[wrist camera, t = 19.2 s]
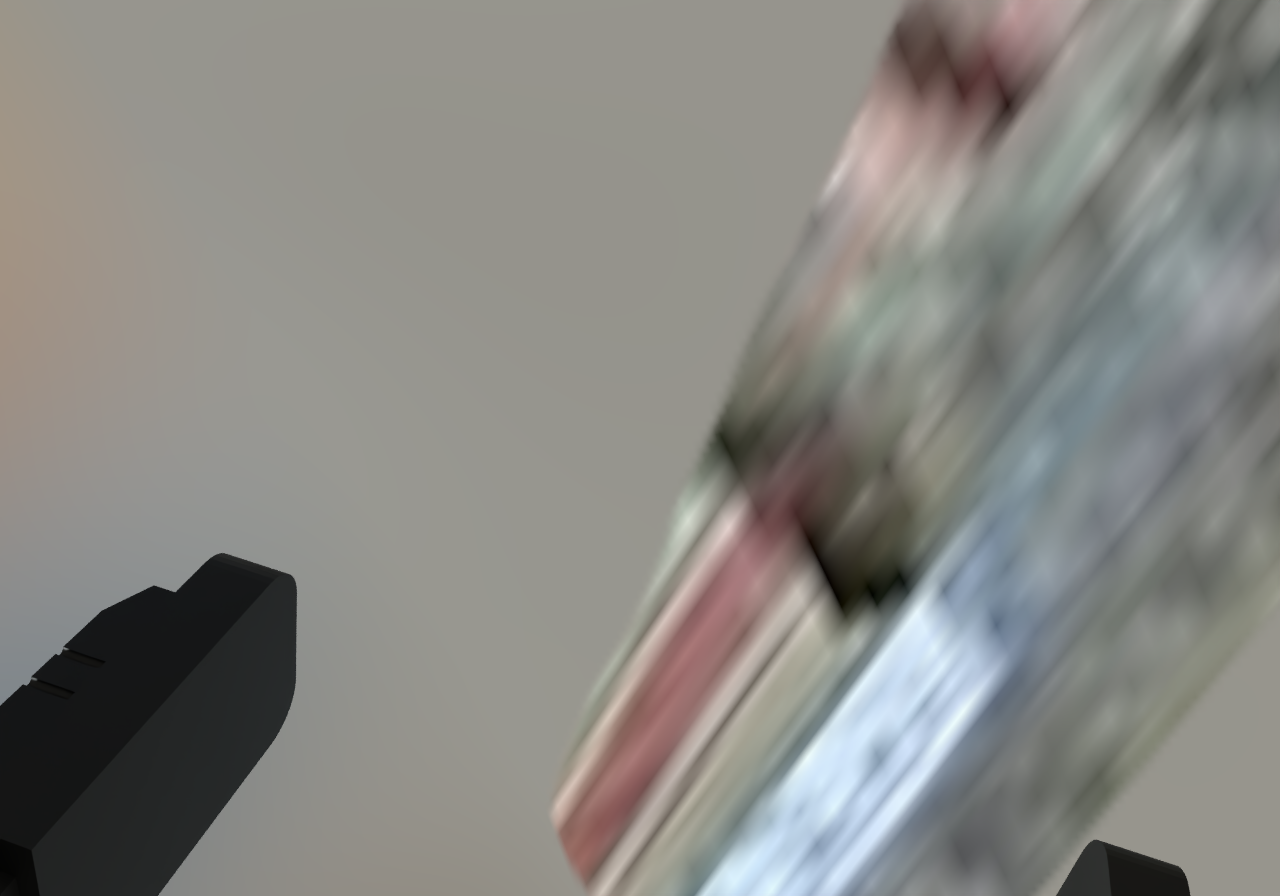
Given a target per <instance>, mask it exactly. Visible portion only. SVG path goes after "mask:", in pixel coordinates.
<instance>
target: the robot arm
mask: <svg viewBox="0 0 1280 896" xmlns="http://www.w3.org/2000/svg"><path fill="white" fill-rule="evenodd" d="M296 588H297V587H296V582H295V580H294V578H293V577H292V576H291V575H290V574H287V573H284V572H281V571H278V570H275V569H271V568H268V567H265V566H262V565H259V564H256V563H253V562H250V561H247V560H244V559H241V558H237V557H234V556H231V555H228V554H225V553H220V554H217V555H215V556H213V557H212V558H210V559H209V560H208V561H207V562H205V563H204V565H202V566H201V567H200V568H199V569H198V570H197V572H195V573H194V574H193V575H192V577H190V579H188V580H187V581H186V582H185V583H184V584H183V585H182V586H181V587H180V588H179V589H178V590H177V592H172V591H169V590H166V589H163V588H160V587H157V586H152V587H150V588H148V589H146V590H144V591H142V592H140V593H137V594H135V595H133V596H131V597H129V598H127V599H125V600H123V601H121V602H119V603H117V604H115V605H113V606H111V607H108V608H107V609H104V610H102V611H101V612H100V613H99V614H98V615H97V616H96V617H95V618H94V619H93V620H91V621H90V622H89V623H88V624H87V625H86V626H85V627H84V628H83V629H82V630H81V631H80V632H79V633H78V634H76V635H75V636H74V637H73V638H72V639H71V640H70V641H69V642H68V643H67V644H66V645H65V646H64V647H63V651H62V653H61V654H60V655H57V654H55V655H54V656H53V657H52V658H51V659H50V660H49V661H48V662H47V663H45V664H44V665H43V666H42V667H41V668H40V669H39V670H38V671H37V672H36V673H35V674H34V675H33V676H32V677H31V681H30V683H29V684H28V685H27V686H26V685H22V686H21V687H20V688H19V689H18V690H17V691H15V692H14V693H13V694H12V695H11V696H10V697H9V698H8V699H7V700H6V701H5V702H4V703H3V704H2V705H1V706H0V896H158V895H159V893H160V892H161V891H162V889H163V888H164V887H165V885H166V884H167V883H168V881H169V880H170V879H171V877H172V876H173V875H174V873H175V872H176V870H177V869H178V868H179V867H180V865H181V864H182V863H183V861H184V860H185V859H186V857H187V856H188V854H189V853H190V852H191V851H192V849H193V848H194V846H195V845H196V844H197V843H198V841H199V840H200V839H201V837H202V836H203V835H204V833H205V832H206V830H207V829H208V828H209V827H210V825H211V824H212V823H213V821H214V820H215V819H216V817H217V815H218V814H219V813H220V812H221V810H222V809H223V808H224V806H225V805H226V804H227V803H228V801H229V800H230V799H231V797H232V796H233V794H234V793H235V792H236V790H237V789H238V788H239V786H240V785H241V784H242V782H243V781H244V779H245V778H246V777H247V776H248V774H249V773H250V772H251V770H252V769H253V768H254V766H255V765H256V764H257V762H258V761H259V760H260V758H261V757H262V756H263V754H264V753H265V752H266V750H267V749H268V748H269V746H270V745H271V744H272V742H273V741H274V739H275V738H276V736H277V734H278V733H279V731H280V729H281V727H282V725H283V723H284V721H285V719H286V716H287V714H288V711H289V709H290V706H291V703H292V699H293V695H294V690H295V683H296V617H297V614H296V613H297V612H296V611H297V589H296ZM1056 896H1190V891H1189V886H1188V881H1187V878H1186V876H1185V873H1184V872H1183V870H1182V869H1181V868H1179V867H1178V866H1176V865H1173V864H1169V863H1167V862H1164V861H1160V860H1157V859H1154V858H1151V857H1148V856H1145V855H1142V854H1139V853H1136V852H1133V851H1130V850H1127V849H1124V848H1121V847H1117V846H1114V845H1111V844H1108V843H1105V842H1102V841H1099V840H1093V841H1092V842H1090V843H1089V844H1088V845H1087V846H1086V847H1085V849H1084V850H1083V852H1082V854H1081V855H1080V857H1079V858H1078V860H1077V862H1076V863H1075V865H1074V867H1073V868H1072V870H1071V872H1070V873H1069V875H1068V877H1067V879H1066V880H1065V882H1064V884H1063V885H1062V887H1061V888H1060V890H1059V892H1058V894H1057V895H1056Z"/></svg>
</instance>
